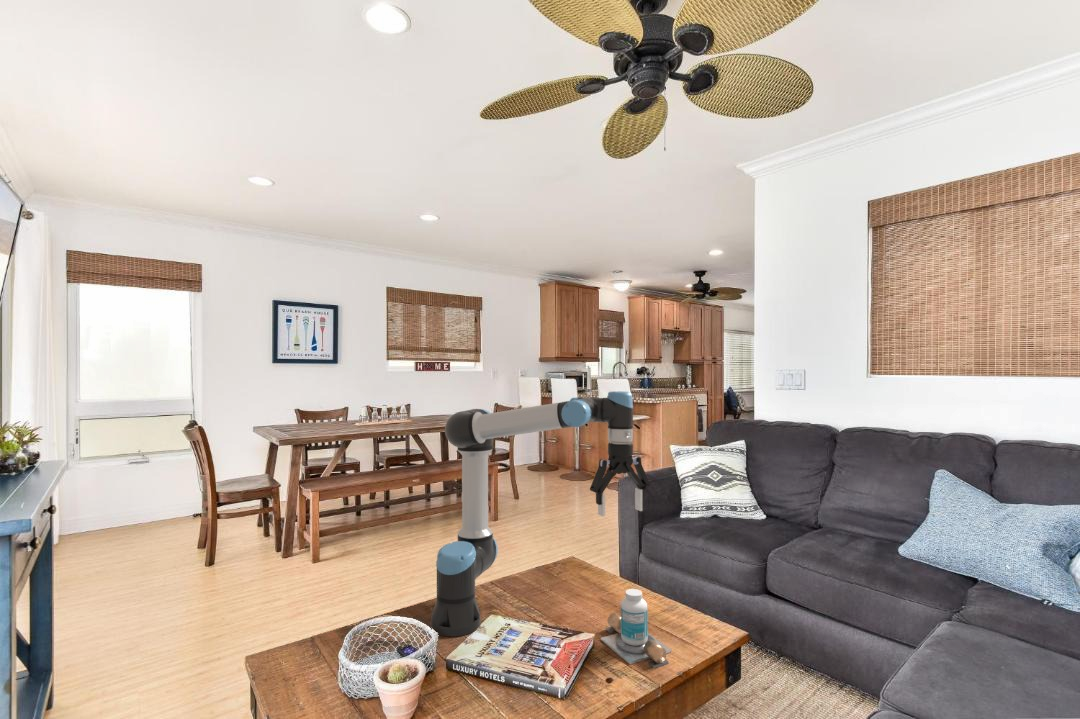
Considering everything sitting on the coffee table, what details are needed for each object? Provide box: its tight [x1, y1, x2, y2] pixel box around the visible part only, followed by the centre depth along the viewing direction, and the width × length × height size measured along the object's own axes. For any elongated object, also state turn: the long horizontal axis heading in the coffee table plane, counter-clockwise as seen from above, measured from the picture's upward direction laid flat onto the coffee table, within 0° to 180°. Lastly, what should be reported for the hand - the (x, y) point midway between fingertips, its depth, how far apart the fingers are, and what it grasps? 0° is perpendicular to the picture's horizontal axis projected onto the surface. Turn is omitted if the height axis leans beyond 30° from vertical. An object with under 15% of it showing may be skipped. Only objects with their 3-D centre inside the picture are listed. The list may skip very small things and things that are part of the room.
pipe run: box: [600, 612, 672, 669], centre depth 147 cm, size 22×14×5 cm, turn 26°
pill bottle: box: [620, 588, 649, 646], centre depth 147 cm, size 8×7×14 cm
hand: (620, 512), depth 158 cm, fingers open, 13 cm apart
